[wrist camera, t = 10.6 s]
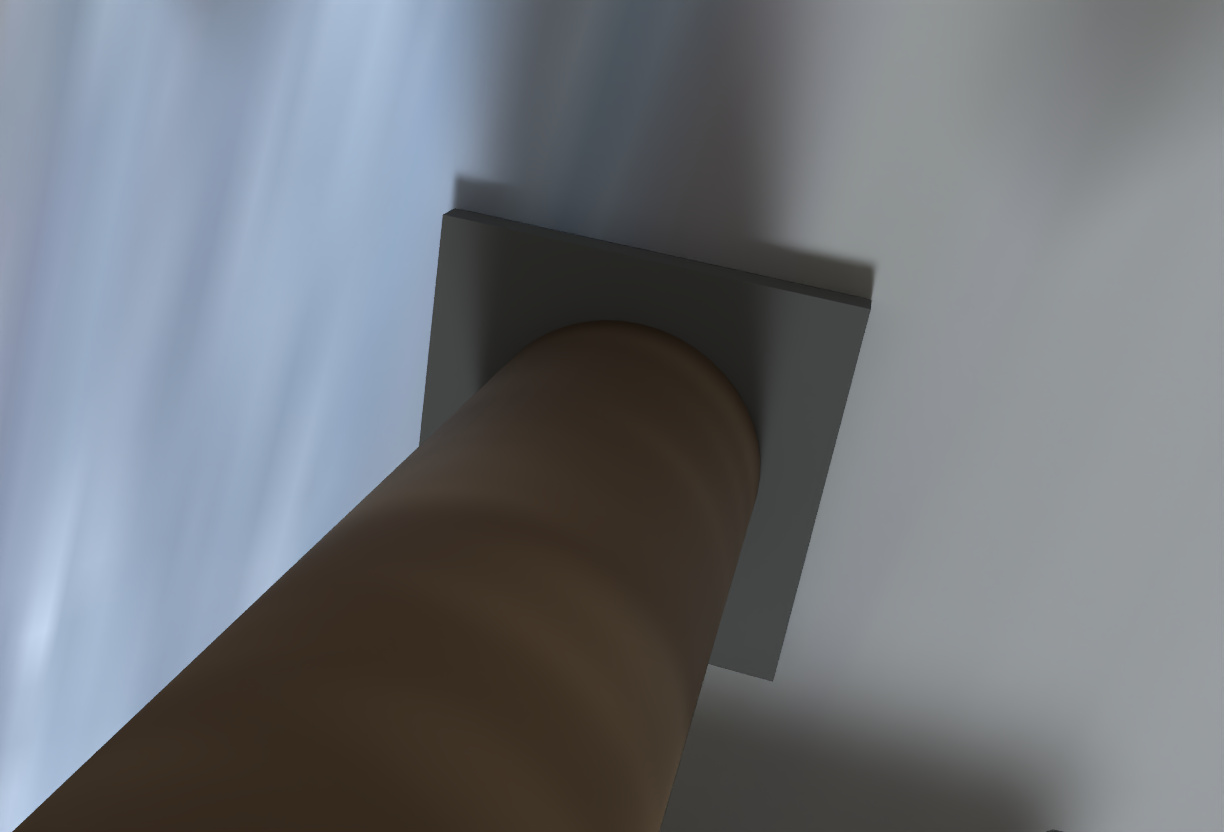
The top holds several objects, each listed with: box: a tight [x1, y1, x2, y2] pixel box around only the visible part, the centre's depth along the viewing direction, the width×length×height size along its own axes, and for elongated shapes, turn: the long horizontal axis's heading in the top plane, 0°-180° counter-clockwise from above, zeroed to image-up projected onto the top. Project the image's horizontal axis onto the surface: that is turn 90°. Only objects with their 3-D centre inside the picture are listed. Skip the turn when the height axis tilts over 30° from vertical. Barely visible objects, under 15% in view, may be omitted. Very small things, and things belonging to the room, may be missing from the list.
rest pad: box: [419, 208, 871, 682], centre depth 14 cm, size 5×5×1 cm
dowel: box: [13, 320, 760, 832], centre depth 9 cm, size 4×4×10 cm
